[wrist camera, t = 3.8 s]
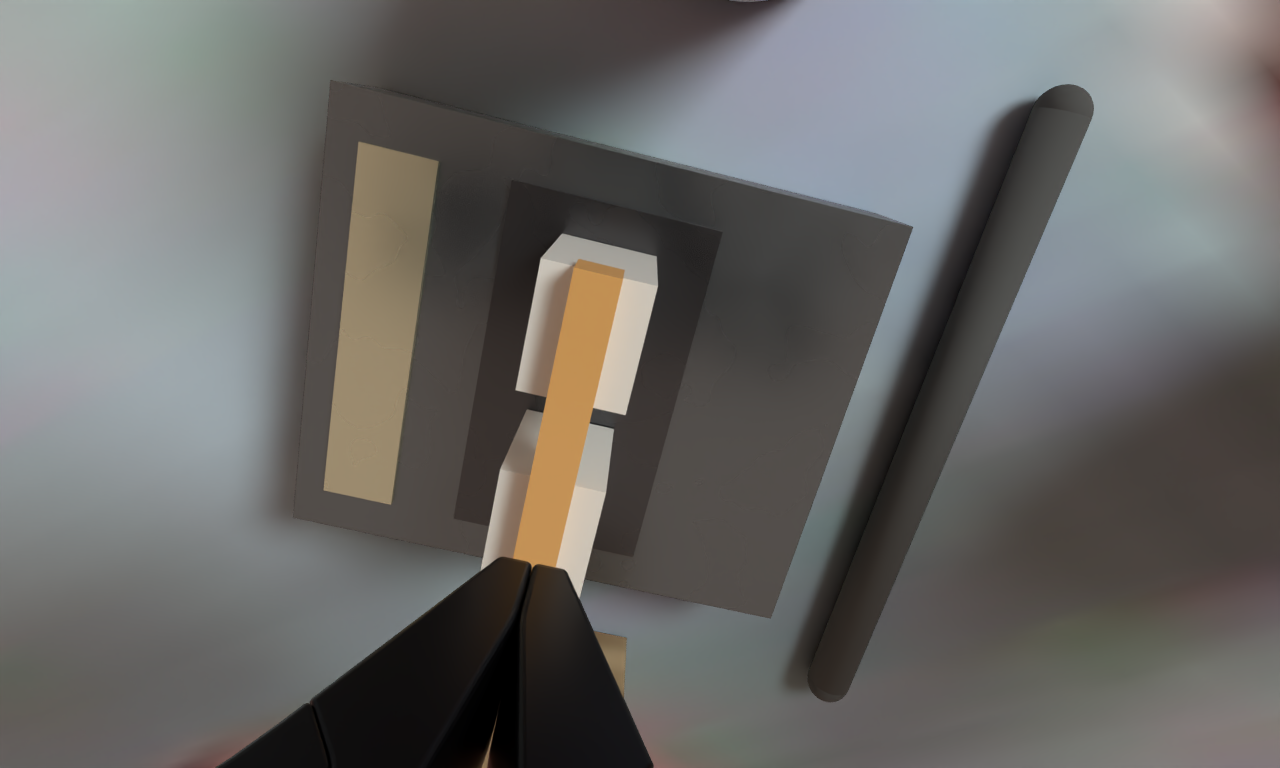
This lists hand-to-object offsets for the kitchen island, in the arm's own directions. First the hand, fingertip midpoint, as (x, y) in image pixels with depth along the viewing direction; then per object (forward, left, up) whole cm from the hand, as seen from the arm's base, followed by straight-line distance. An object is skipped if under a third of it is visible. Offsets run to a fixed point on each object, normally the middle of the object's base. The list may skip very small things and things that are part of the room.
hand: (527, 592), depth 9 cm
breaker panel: (0, 0, -10) cm, 10 cm away
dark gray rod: (-9, 0, -10) cm, 13 cm away
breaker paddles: (0, 0, -7) cm, 7 cm away
